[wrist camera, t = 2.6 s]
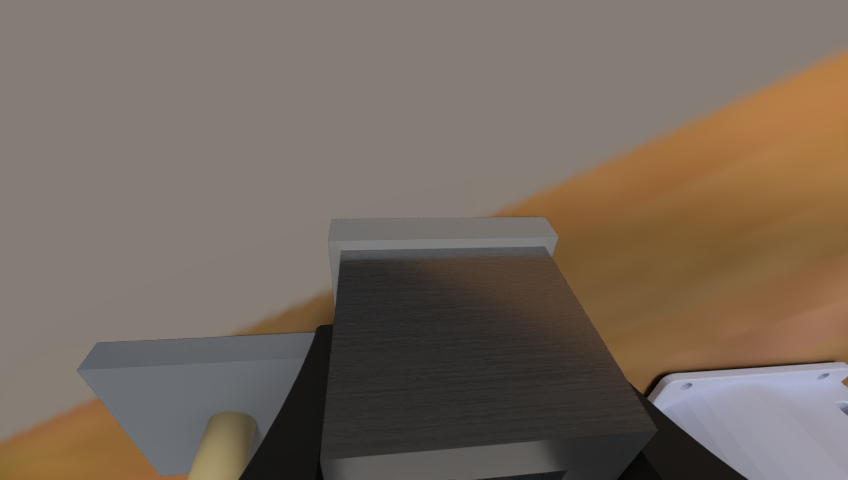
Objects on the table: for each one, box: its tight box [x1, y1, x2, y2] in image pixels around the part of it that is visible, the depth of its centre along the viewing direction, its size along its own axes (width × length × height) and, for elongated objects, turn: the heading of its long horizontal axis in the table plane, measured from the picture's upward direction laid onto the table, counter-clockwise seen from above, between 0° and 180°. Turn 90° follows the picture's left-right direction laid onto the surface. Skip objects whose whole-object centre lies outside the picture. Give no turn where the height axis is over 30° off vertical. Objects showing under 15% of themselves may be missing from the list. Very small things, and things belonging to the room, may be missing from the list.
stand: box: [328, 217, 558, 305], centre depth 11 cm, size 6×6×3 cm
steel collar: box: [320, 246, 658, 480], centre depth 9 cm, size 5×5×5 cm
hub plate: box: [77, 332, 315, 480], centre depth 13 cm, size 7×7×4 cm
